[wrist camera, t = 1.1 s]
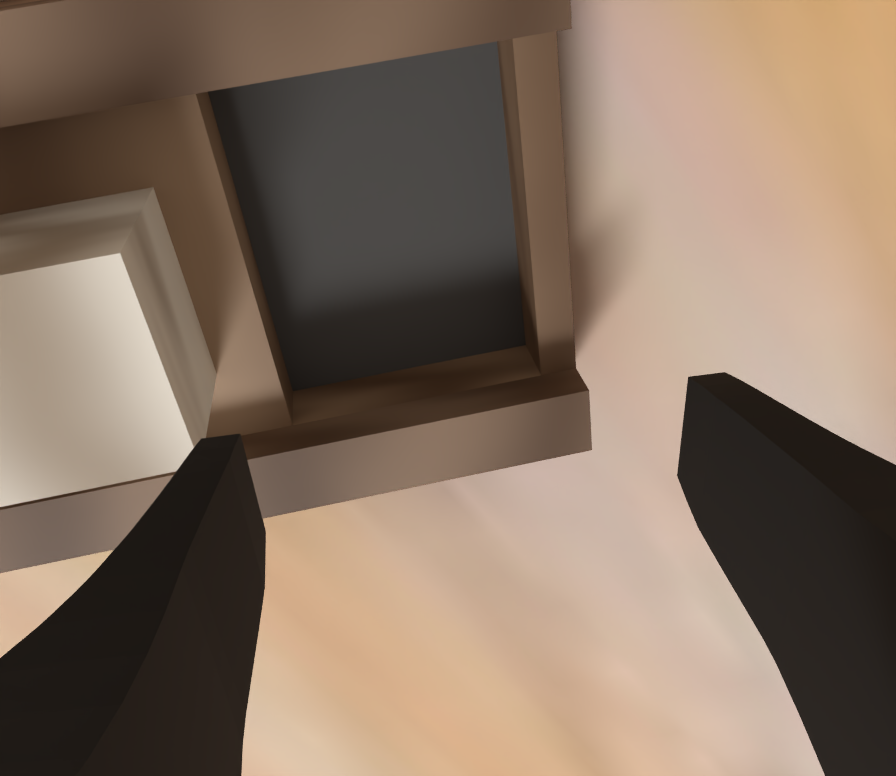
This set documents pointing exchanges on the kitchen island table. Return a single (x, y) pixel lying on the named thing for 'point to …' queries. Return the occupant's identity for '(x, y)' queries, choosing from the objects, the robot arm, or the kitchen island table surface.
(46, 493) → the cube
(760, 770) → the kitchen island table surface
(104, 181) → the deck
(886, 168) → the kitchen island table surface
